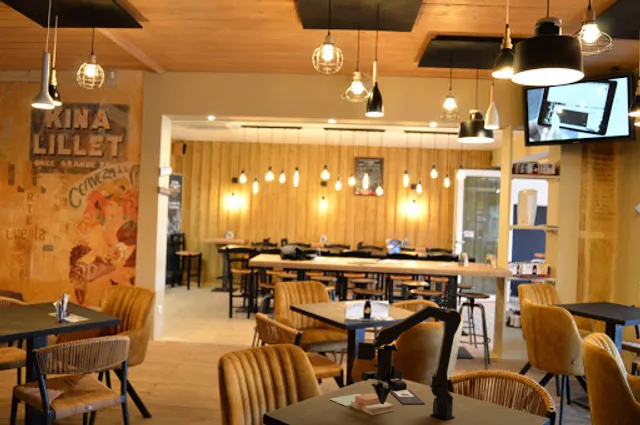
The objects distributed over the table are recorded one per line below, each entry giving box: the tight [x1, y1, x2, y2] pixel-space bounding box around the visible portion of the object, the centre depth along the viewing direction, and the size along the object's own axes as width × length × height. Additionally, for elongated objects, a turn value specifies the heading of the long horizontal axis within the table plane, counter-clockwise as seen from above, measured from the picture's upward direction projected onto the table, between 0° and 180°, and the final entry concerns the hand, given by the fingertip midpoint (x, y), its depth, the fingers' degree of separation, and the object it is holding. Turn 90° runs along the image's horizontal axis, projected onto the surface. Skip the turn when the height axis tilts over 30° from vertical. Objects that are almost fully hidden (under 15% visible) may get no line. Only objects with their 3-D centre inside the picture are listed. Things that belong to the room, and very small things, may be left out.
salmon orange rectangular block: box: [355, 392, 380, 406], centre depth 233 cm, size 6×9×2 cm, turn 128°
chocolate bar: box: [389, 389, 426, 406], centre depth 248 cm, size 9×1×18 cm
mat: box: [329, 393, 361, 407], centre depth 240 cm, size 10×15×1 cm, turn 128°
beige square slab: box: [350, 400, 395, 416], centre depth 231 cm, size 12×11×2 cm
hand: (382, 404), depth 227 cm, fingers closed
